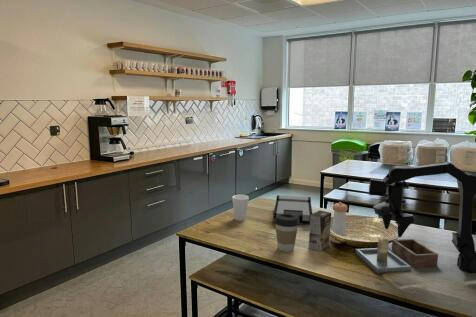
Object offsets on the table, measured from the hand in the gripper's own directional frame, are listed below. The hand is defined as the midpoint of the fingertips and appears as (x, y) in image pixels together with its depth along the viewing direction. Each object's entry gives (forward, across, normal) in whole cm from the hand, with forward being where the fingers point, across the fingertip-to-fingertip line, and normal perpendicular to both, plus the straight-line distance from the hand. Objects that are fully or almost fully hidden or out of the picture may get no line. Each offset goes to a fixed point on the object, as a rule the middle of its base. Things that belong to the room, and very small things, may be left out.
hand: (392, 232), depth 144 cm
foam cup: (+11, -61, -55) cm, 83 cm away
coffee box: (+12, -18, -25) cm, 33 cm away
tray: (+12, +1, -5) cm, 14 cm away
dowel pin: (+12, +1, -5) cm, 13 cm away
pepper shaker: (+12, -24, -13) cm, 30 cm away
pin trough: (+13, 0, +10) cm, 16 cm away
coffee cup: (+12, -18, -41) cm, 46 cm away
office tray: (+12, -61, -24) cm, 67 cm away
